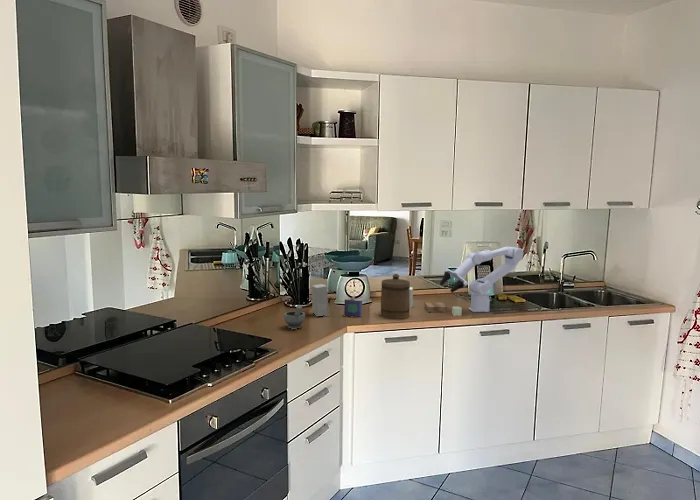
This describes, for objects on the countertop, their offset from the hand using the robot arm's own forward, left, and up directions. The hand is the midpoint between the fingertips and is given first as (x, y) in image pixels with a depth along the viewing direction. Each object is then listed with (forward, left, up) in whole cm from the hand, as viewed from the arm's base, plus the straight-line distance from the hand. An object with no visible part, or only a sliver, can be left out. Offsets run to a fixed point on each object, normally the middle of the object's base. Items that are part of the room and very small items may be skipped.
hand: (445, 288), depth 285 cm
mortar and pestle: (+79, +26, -14) cm, 84 cm away
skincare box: (+67, +2, -14) cm, 68 cm away
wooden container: (+28, +4, -14) cm, 31 cm away
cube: (-5, +3, -14) cm, 15 cm away
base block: (+4, -7, -14) cm, 16 cm away
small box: (+19, -16, -14) cm, 28 cm away
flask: (+50, +5, -14) cm, 52 cm away
